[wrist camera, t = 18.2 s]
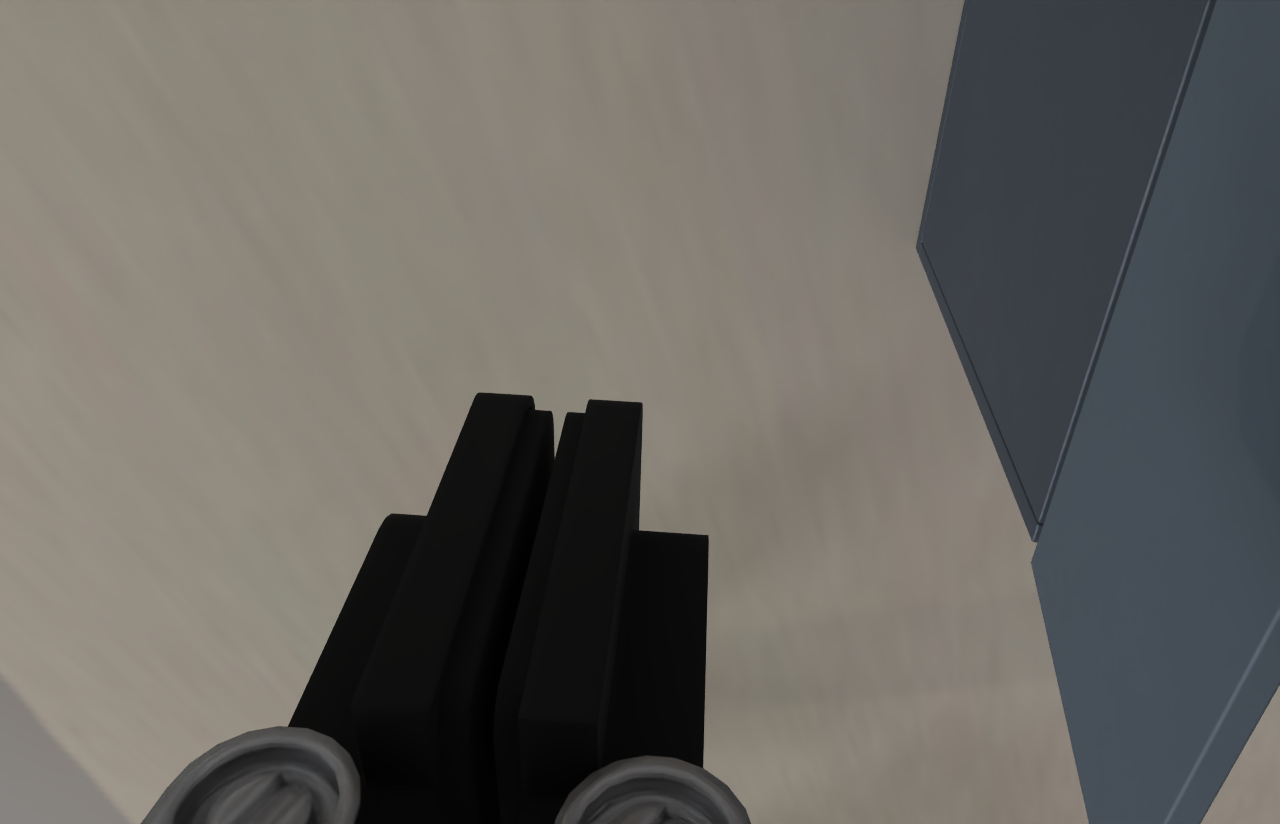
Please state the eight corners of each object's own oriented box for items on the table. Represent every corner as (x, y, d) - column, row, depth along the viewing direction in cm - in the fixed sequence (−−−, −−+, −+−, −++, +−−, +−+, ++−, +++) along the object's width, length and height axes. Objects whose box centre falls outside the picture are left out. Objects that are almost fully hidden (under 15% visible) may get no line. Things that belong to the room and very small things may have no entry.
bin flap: (1050, 565, 19) (1029, 562, 19) (1320, -213, 12) (1286, -214, 12) (1141, 930, 13) (1109, 924, 13) (1786, -196, 6) (1714, -197, 6)
